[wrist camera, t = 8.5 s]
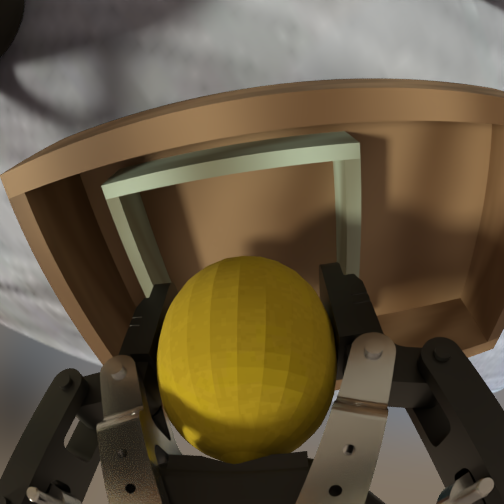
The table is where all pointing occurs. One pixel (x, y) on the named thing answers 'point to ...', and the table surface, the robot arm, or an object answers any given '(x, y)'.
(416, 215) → the caddy
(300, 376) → the lemon
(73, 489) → the robot arm
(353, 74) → the table surface
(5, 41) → the mug
